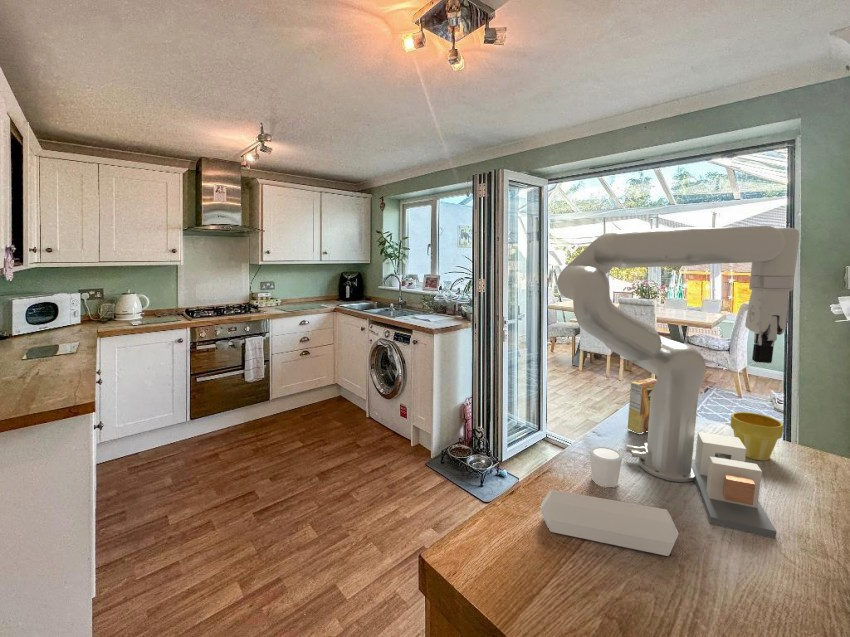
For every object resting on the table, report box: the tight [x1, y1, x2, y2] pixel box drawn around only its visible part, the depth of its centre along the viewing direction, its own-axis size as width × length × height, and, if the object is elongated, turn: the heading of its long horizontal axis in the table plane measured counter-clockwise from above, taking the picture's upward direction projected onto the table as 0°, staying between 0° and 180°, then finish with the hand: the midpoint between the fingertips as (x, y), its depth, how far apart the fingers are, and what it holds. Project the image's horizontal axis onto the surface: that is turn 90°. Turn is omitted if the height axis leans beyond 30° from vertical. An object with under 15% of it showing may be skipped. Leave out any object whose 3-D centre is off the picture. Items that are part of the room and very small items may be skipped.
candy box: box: [627, 377, 657, 433], centre depth 117 cm, size 9×4×15 cm, turn 116°
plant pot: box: [730, 411, 784, 461], centre depth 102 cm, size 10×10×10 cm
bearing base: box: [691, 431, 777, 540], centre depth 85 cm, size 24×10×10 cm, turn 154°
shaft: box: [715, 453, 755, 505], centre depth 86 cm, size 20×4×4 cm, turn 154°
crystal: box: [539, 489, 679, 557], centre depth 74 cm, size 7×7×24 cm
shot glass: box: [589, 446, 623, 488], centre depth 91 cm, size 7×7×7 cm
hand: (761, 361), depth 92 cm, fingers closed
